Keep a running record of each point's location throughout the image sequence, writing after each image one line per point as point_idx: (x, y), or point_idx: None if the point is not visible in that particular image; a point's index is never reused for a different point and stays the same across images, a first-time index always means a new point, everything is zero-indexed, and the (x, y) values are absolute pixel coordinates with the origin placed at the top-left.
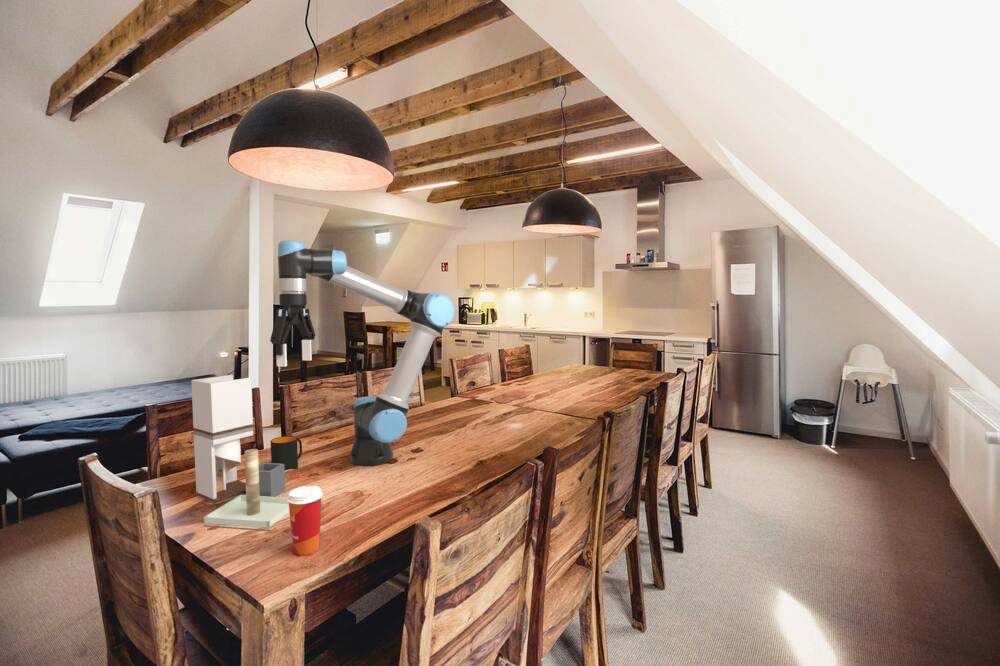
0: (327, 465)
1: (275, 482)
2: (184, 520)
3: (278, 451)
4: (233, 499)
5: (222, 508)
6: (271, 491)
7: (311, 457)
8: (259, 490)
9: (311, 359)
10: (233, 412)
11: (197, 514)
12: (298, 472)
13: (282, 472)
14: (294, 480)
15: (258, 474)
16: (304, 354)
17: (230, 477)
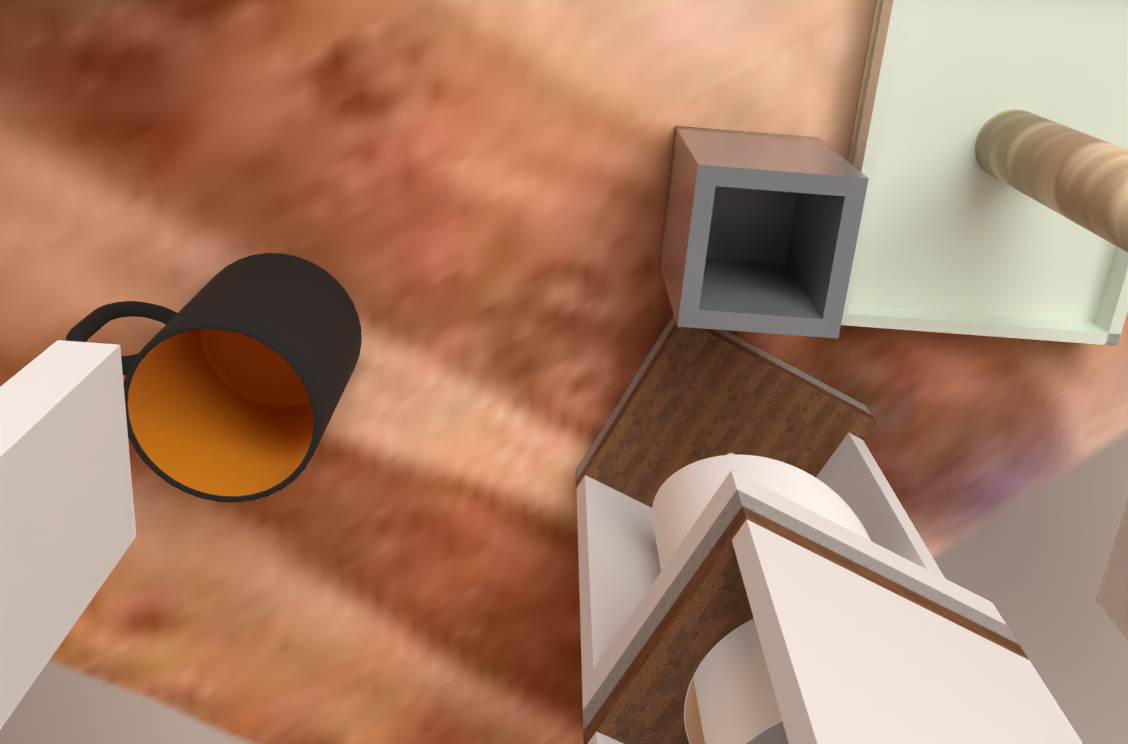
0: (157, 65)
1: (793, 154)
2: (1009, 459)
3: (331, 386)
4: (897, 325)
5: (994, 322)
6: (830, 150)
7: (25, 260)
8: (1049, 137)
9: (53, 347)
10: (932, 680)
11: (945, 442)
12: (325, 212)
13: (716, 155)
14: (466, 170)
15: (1118, 153)
16: (65, 566)
17: (620, 504)
